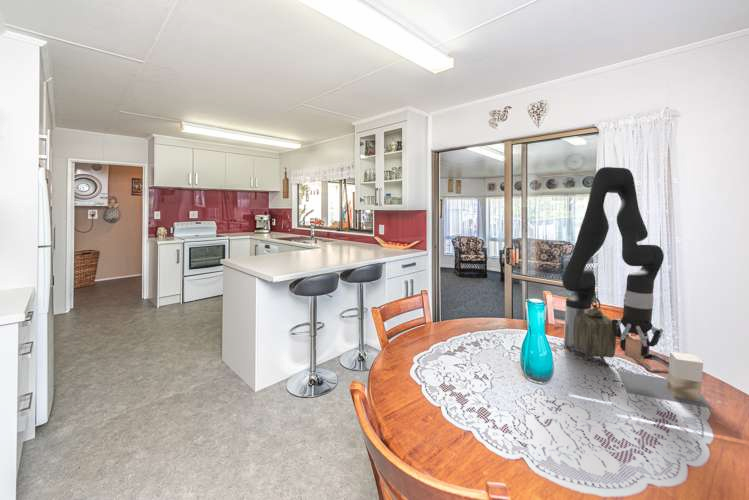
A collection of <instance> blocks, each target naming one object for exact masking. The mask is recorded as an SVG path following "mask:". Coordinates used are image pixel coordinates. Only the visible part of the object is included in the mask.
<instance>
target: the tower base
mask: <svg viewBox="0 0 749 500" xmlns="http://www.w3.org/2000/svg"><path fill="white" fill-rule="evenodd" d="M667 370H668V372H667V373H668V374H667V379H668V383H667V388H668V389H669V391H670V392H671V394H672V395H673V397H678V398H683V399H689V400H694V401H700V393H701V392H702V382H697V381H690V380H684V379H678V378H675V377H674V376H673V375H672V374H671V372H670V371H669V369H667ZM701 394H702V393H701Z"/></svg>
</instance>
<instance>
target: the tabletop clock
mask: <svg viewBox="0 0 749 500" xmlns="http://www.w3.org/2000/svg"><path fill="white" fill-rule="evenodd" d="M593 299H594V300H596V302H597V303H598V304H594V300H593ZM592 301H593V302H592ZM591 307H592V308H591V309H590V310H589V311H588V312H587V313H580V314H578V315H576V316H575V319H574V343H575V345H576V346H577V347H578V348H579V349H578V350H579V351H580V352H582V353H583V354H585V355H586V356H584V357H583V360H585V361H589V357H599V358H600V360H601V361H602V362H603V363H604V364H603V366H604V367H605V368H609V367H610V364H609V363H608V362H606V360H605V358H614V357H615V355H616V347H617V337H616V336H615V335H614V330H613V325H612V320H613V319H611V318H610V317H609V316H607V315H605V314H603V311H602V310H600V309H601V302H600V299H599V298H597V297H596V296H594V297H593V298H592V299H591Z"/></svg>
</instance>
